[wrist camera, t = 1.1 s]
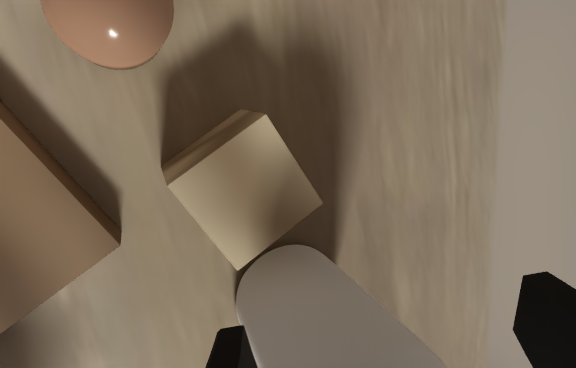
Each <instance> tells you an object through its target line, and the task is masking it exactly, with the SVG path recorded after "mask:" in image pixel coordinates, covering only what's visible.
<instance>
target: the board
mask: <svg viewBox="0 0 576 368" xmlns="http://www.w3.org/2000/svg"><path fill="white" fill-rule="evenodd" d="M121 233H122V231H121V230H120V229H119V228H118V227H117V226H116V225H115V223H114V222H113V221H112V220H111V219H110V218H109V217H108V216H107V215H106V214H105V213H104V212H103V211H102V209H101V208H100V207H99V206H98V205H97V204H96V203H95V202H94V201H93V200H92V199H91V198H90V197H89V195H88V194H87V193H86V192H85V191H84V190H83V189H82V188H81V187H80V186H79V185H78V184H77V183H76V181H75V180H74V179H73V178H72V177H71V176H70V175H69V174H68V173H67V172H66V171H65V170H64V168H63V167H62V166H61V165H60V164H59V163H58V162H57V161H56V160H55V159H54V158H53V157H52V156H51V154H50V153H49V152H48V151H47V150H46V149H45V148H44V147H43V146H42V145H41V144H40V143H39V142H38V140H37V139H36V138H35V137H34V136H33V135H32V134H31V133H30V132H29V131H28V130H27V129H26V128H25V126H24V125H23V124H22V123H21V122H20V121H19V120H18V119H17V118H16V117H15V116H14V115H13V114H12V112H11V111H10V110H9V109H8V108H7V107H6V106H5V105H4V104H3V103H2V102H1V101H0V334H1V333H2V332H4V331H5V330H6V329H8V328H9V327H10V326H12V325H13V324H14V323H16V322H17V321H19V320H20V319H21V318H23V317H24V316H25V315H27V314H28V313H29V312H31V311H32V310H33V309H35V308H36V307H38V306H39V305H40V304H42V303H43V302H44V301H46V300H47V299H48V298H50V297H51V296H52V295H54V294H55V293H57V292H58V291H59V290H61V289H62V288H63V287H65V286H66V285H67V284H69V283H70V282H71V281H73V280H74V279H76V278H77V277H78V276H80V275H81V274H82V273H84V272H85V271H86V270H88V269H89V268H90V267H92V266H93V265H95V264H96V263H97V262H99V261H100V260H101V259H103V258H104V257H105V256H107V255H108V254H110V253H111V252H112V251H114V250H115V249H116V248H118V247H119V246H120V244H121Z"/></svg>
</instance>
